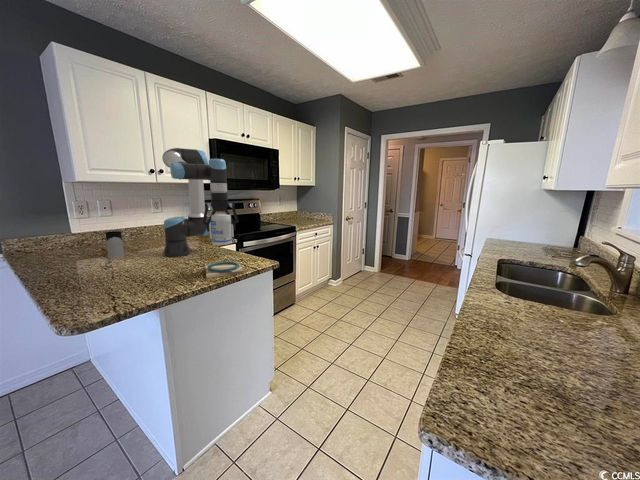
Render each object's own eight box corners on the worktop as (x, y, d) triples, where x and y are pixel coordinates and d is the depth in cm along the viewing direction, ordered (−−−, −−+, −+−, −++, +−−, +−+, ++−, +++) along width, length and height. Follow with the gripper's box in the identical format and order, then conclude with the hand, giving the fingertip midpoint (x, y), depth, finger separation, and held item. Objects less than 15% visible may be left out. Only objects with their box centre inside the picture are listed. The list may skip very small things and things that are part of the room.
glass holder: (108, 259, 154) (104, 233, 151) (106, 254, 165) (103, 230, 162) (126, 256, 160) (123, 232, 157) (123, 252, 170) (120, 229, 167)
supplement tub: (209, 245, 128) (206, 215, 125) (215, 241, 137) (213, 213, 134) (229, 245, 128) (227, 215, 125) (234, 241, 137) (233, 213, 134)
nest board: (205, 267, 140) (205, 262, 139) (238, 264, 147) (238, 259, 146) (206, 278, 124) (206, 272, 123) (243, 273, 131) (243, 268, 130)
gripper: (193, 192, 120) (197, 240, 124) (243, 192, 129) (245, 237, 133) (193, 191, 126) (197, 237, 131) (241, 192, 135) (243, 234, 140)
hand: (221, 237), depth 132 cm, fingers closed on supplement tub, 10 cm apart
